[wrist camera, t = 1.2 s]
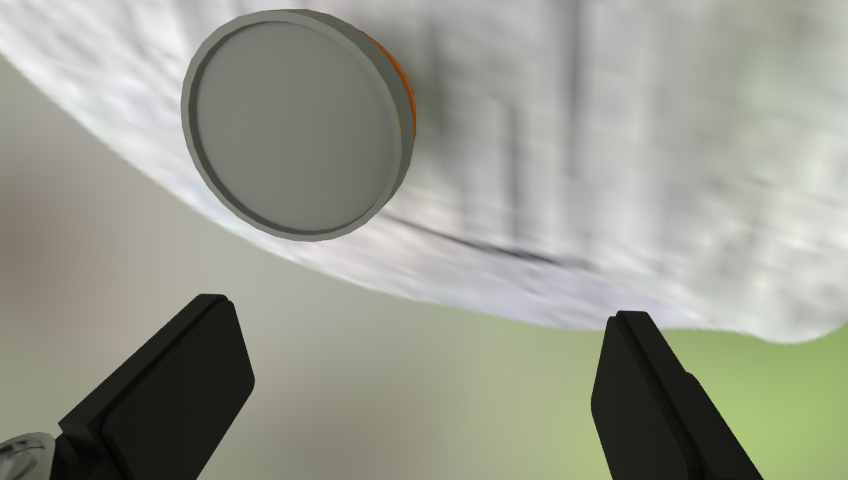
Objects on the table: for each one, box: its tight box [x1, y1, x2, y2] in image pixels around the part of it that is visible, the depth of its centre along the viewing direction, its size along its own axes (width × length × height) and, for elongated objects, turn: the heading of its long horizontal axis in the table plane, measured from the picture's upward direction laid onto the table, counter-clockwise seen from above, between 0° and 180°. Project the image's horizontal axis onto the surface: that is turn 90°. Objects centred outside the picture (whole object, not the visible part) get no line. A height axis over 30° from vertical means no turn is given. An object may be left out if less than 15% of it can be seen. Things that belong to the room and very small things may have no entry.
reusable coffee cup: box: [181, 9, 416, 242], centre depth 28 cm, size 13×13×15 cm
